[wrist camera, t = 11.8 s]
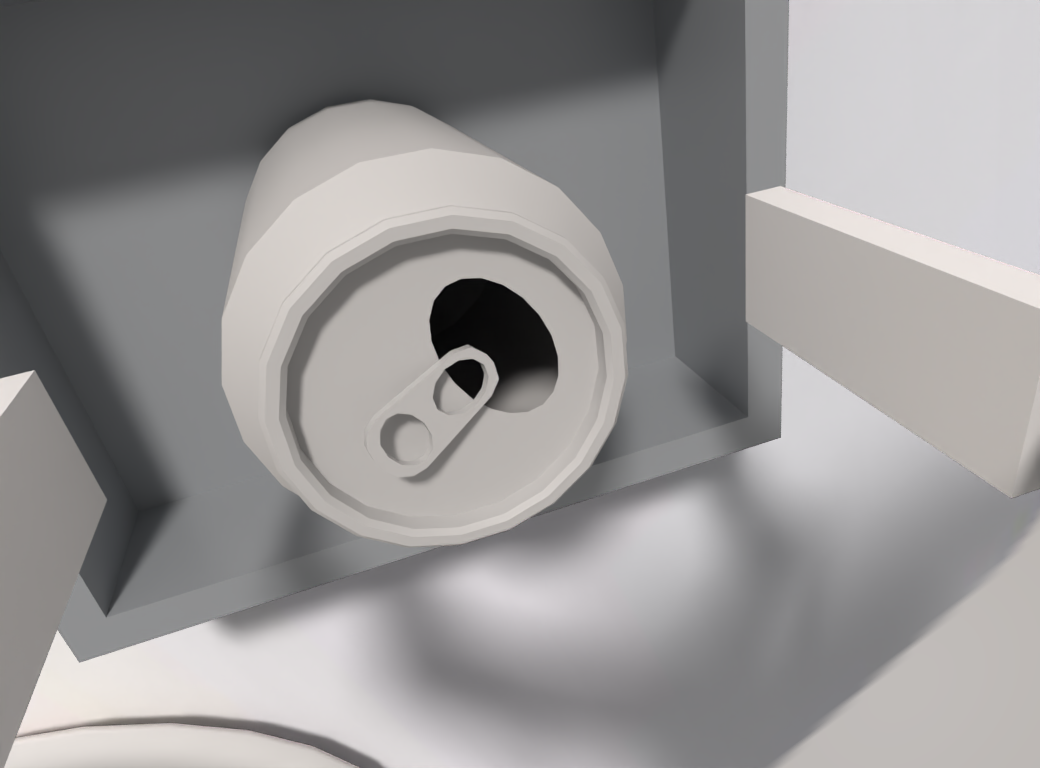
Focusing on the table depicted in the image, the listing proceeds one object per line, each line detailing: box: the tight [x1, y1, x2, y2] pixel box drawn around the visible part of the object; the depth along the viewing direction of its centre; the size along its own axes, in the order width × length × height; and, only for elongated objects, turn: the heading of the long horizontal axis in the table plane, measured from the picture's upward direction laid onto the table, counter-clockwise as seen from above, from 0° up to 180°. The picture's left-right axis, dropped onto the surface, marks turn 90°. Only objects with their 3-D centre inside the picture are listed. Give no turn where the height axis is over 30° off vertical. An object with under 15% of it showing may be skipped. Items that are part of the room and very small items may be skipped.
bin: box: [0, 0, 789, 663], centre depth 20 cm, size 22×17×6 cm
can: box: [222, 99, 628, 548], centre depth 17 cm, size 8×8×12 cm
